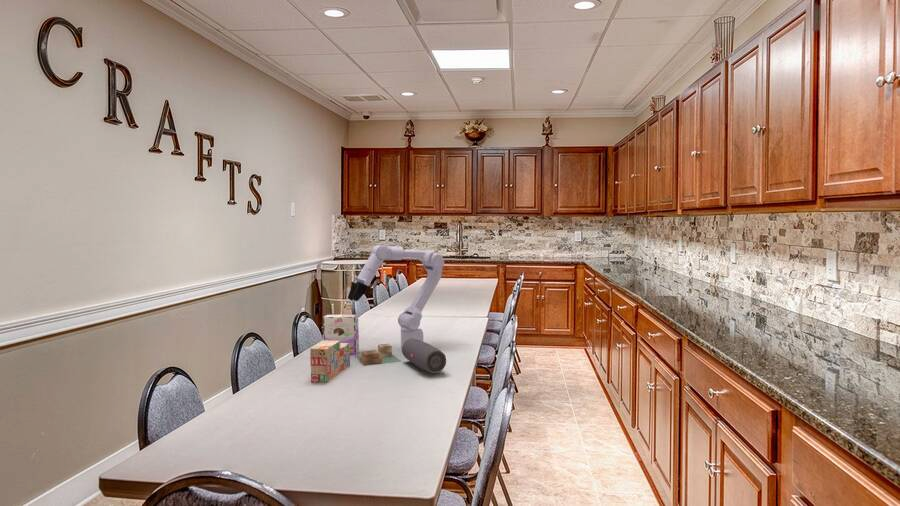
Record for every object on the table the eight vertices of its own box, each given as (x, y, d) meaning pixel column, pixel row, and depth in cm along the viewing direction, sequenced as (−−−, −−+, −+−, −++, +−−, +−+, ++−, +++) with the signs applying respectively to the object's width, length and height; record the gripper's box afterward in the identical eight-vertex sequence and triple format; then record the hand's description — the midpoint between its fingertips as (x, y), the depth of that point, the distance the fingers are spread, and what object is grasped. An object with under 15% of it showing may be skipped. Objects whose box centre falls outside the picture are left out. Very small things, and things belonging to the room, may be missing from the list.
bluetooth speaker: (400, 363, 215) (399, 338, 215) (421, 360, 220) (421, 335, 219) (424, 378, 195) (424, 350, 195) (447, 374, 200) (447, 347, 199)
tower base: (376, 359, 220) (376, 354, 220) (381, 363, 214) (381, 358, 214) (359, 361, 217) (359, 356, 217) (364, 365, 211) (364, 360, 211)
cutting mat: (389, 353, 231) (389, 352, 231) (401, 362, 217) (401, 361, 217) (354, 357, 225) (354, 356, 225) (364, 366, 211) (364, 365, 211)
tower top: (375, 354, 219) (375, 350, 219) (379, 358, 214) (379, 353, 214) (361, 356, 217) (361, 351, 217) (365, 359, 212) (365, 354, 212)
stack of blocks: (335, 366, 213) (334, 334, 212) (350, 366, 212) (349, 335, 211) (310, 382, 192) (309, 347, 191) (327, 383, 191) (326, 348, 190)
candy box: (359, 352, 233) (358, 314, 232) (355, 355, 228) (355, 316, 227) (328, 351, 235) (327, 313, 234) (323, 355, 229) (322, 316, 228)
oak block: (388, 354, 228) (388, 343, 228) (391, 356, 224) (391, 345, 224) (378, 355, 226) (378, 344, 226) (381, 357, 222) (381, 346, 222)
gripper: (356, 266, 230) (339, 294, 227) (365, 266, 217) (348, 295, 214) (370, 274, 233) (353, 302, 229) (380, 275, 219) (363, 304, 216)
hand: (352, 299), depth 222 cm, fingers open, 7 cm apart
